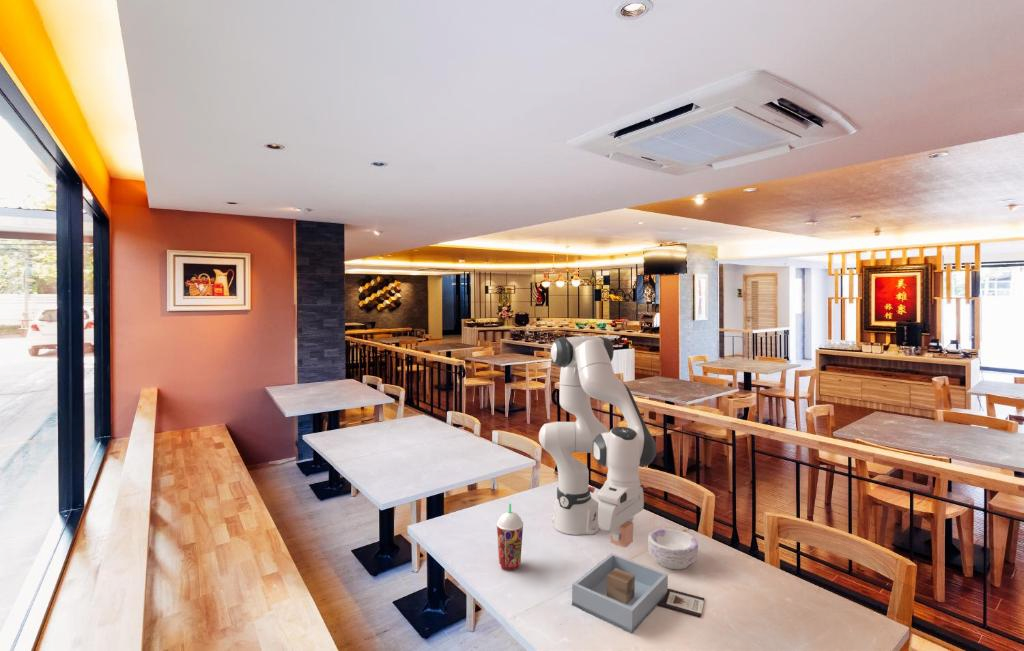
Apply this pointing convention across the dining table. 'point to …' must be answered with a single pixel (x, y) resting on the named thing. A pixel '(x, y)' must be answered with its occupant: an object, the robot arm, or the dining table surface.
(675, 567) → the paper bowls
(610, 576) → the walnut block
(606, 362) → the robot arm
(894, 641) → the dining table surface
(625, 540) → the terracotta box
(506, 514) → the smoothie
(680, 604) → the chocolate bar
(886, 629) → the dining table surface
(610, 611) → the tote
